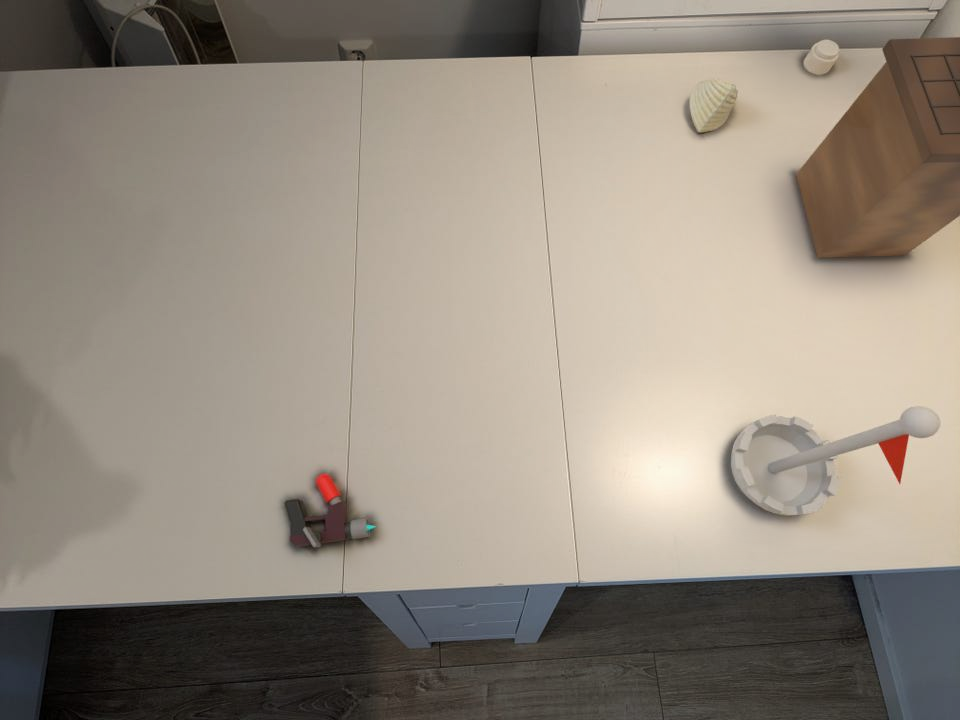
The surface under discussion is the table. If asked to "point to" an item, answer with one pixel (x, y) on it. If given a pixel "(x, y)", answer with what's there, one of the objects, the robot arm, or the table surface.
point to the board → (890, 157)
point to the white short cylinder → (821, 57)
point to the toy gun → (334, 520)
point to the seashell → (711, 103)
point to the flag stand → (812, 458)
